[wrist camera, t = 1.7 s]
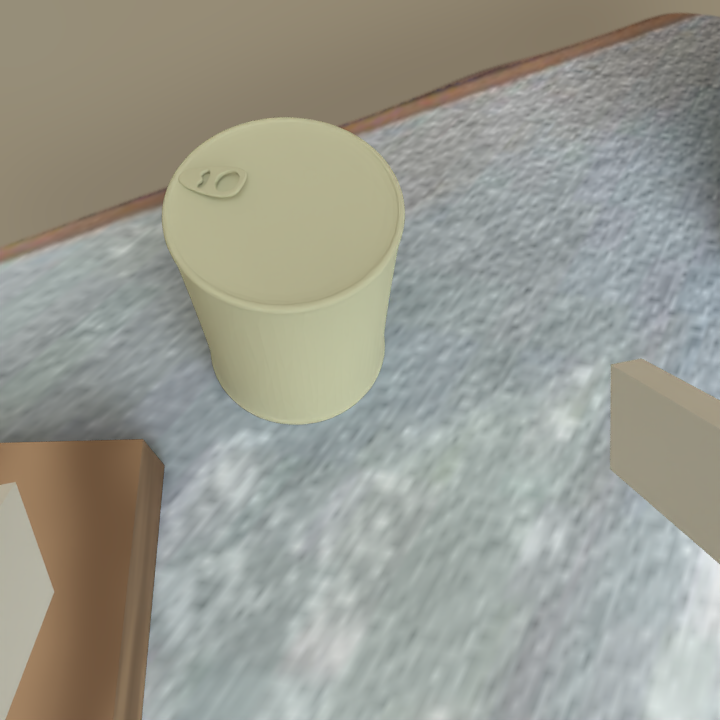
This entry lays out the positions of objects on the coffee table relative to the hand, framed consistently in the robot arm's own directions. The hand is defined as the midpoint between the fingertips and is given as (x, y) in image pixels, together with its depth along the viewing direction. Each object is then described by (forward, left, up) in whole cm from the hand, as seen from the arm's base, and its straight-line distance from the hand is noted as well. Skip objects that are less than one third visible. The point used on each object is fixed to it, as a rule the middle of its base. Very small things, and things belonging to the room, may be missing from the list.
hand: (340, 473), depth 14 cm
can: (+2, -12, -17) cm, 21 cm away
